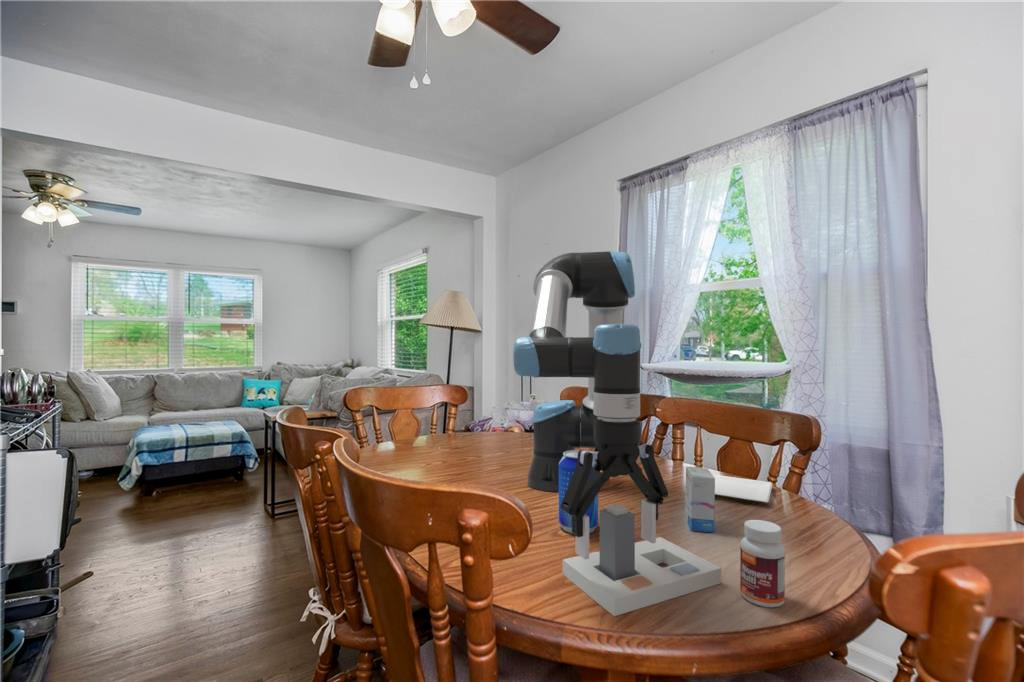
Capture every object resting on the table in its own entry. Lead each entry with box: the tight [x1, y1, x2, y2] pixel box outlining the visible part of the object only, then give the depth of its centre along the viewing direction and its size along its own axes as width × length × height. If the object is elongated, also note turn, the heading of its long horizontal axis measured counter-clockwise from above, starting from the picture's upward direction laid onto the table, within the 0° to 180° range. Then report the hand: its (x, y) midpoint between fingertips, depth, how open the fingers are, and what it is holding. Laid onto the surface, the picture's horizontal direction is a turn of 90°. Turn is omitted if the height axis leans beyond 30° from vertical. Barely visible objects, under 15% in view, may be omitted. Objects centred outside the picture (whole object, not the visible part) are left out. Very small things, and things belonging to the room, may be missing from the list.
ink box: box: [684, 466, 716, 533], centre depth 104 cm, size 9×5×12 cm, turn 168°
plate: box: [711, 473, 773, 505], centre depth 127 cm, size 19×19×2 cm
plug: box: [599, 503, 636, 581], centre depth 78 cm, size 4×4×13 cm
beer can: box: [558, 449, 599, 534], centre depth 102 cm, size 8×8×16 cm
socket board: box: [562, 536, 722, 617], centre depth 80 cm, size 14×22×3 cm, turn 116°
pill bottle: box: [739, 519, 786, 608], centre depth 74 cm, size 6×6×11 cm
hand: (616, 547), depth 78 cm, fingers open, 13 cm apart
